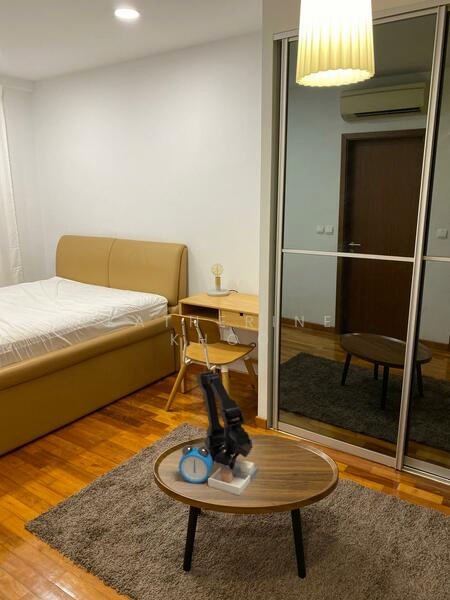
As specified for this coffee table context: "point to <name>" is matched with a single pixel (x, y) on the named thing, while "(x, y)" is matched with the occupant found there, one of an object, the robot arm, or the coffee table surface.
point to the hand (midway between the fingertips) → (232, 469)
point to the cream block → (247, 467)
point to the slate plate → (238, 473)
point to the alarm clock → (195, 463)
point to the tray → (233, 487)
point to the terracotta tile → (226, 476)
